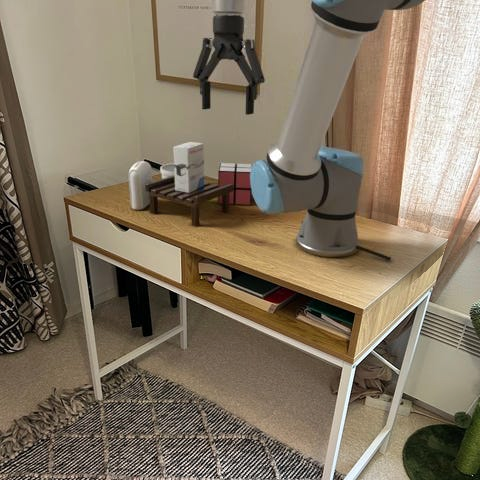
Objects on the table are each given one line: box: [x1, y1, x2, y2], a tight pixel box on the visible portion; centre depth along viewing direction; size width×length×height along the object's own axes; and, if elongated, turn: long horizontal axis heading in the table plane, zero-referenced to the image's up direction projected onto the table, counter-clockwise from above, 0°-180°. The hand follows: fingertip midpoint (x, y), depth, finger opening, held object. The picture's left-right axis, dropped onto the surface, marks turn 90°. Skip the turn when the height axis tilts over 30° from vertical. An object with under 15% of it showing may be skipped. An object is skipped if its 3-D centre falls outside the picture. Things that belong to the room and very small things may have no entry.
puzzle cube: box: [217, 162, 253, 206], centre depth 148 cm, size 10×10×10 cm
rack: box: [145, 175, 233, 227], centre depth 137 cm, size 19×16×8 cm
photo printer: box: [128, 160, 153, 211], centre depth 140 cm, size 10×4×12 cm, turn 170°
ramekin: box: [159, 162, 175, 179], centre depth 157 cm, size 13×13×7 cm
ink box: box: [173, 141, 205, 193], centre depth 133 cm, size 8×5×12 cm, turn 154°
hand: (227, 111), depth 126 cm, fingers open, 13 cm apart
